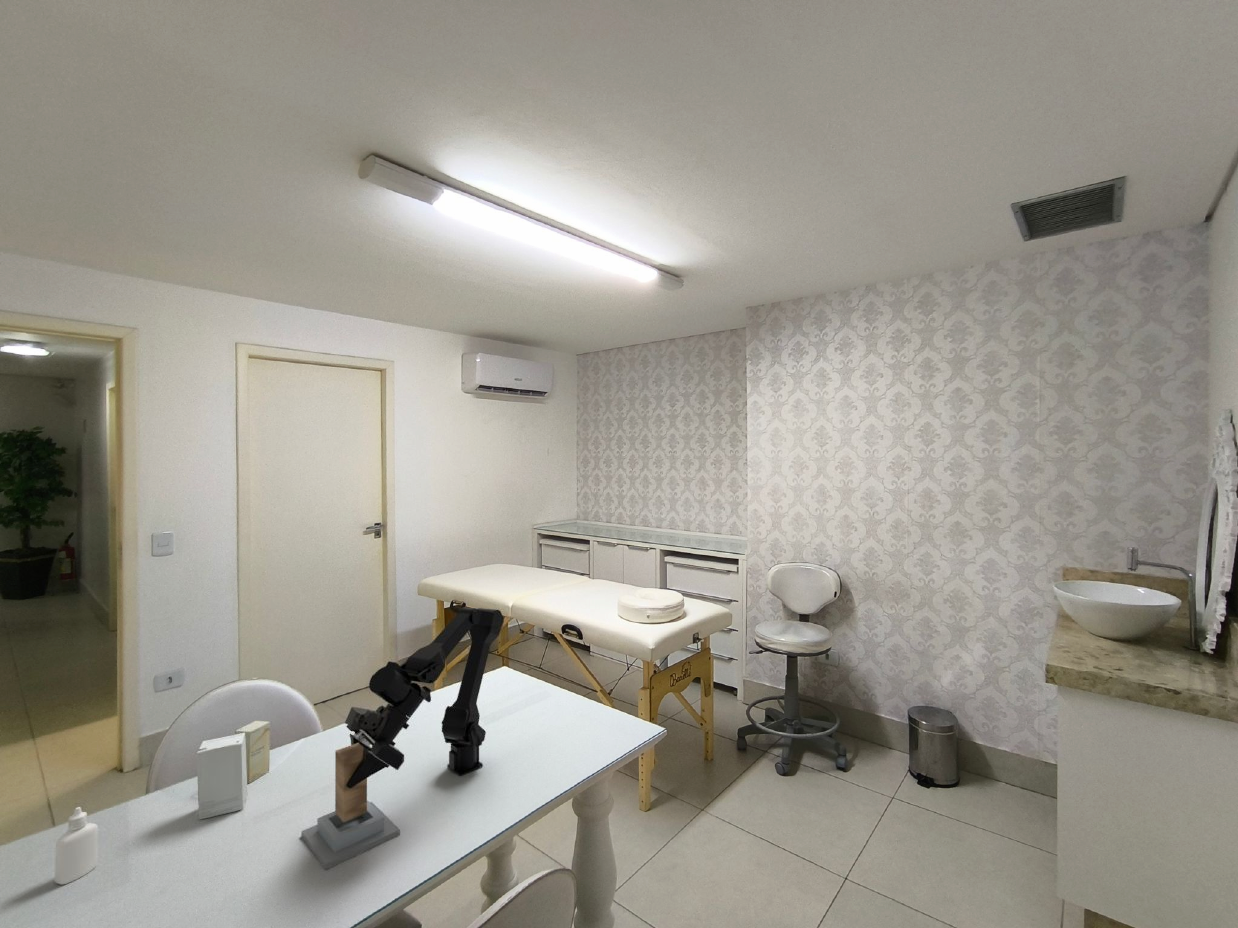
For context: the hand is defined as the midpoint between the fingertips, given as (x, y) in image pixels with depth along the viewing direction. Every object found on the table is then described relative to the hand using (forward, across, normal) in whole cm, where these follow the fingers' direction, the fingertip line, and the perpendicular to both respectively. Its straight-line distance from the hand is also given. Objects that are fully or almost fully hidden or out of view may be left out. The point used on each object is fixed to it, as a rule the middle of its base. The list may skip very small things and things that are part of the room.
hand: (344, 782), depth 111 cm
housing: (+7, 0, +9) cm, 11 cm away
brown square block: (+4, 0, +6) cm, 7 cm away
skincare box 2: (+14, -40, +2) cm, 43 cm away
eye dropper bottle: (+35, -23, -20) cm, 46 cm away
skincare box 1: (+19, -29, -4) cm, 35 cm away
